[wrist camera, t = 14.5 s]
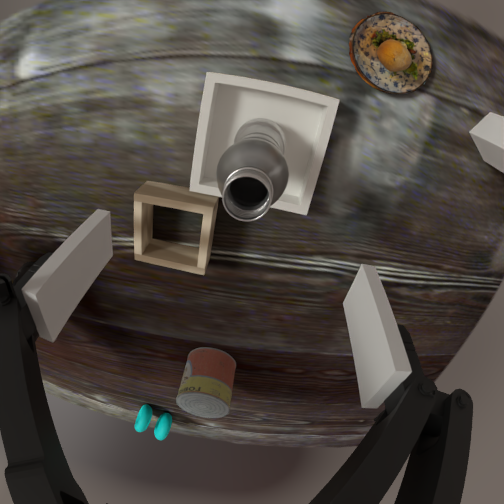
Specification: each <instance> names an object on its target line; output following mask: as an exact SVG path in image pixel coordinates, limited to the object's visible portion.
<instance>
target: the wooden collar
mask: <svg viewBox="0 0 504 504" xmlns="http://www.w3.org/2000/svg"><path fill="white" fill-rule="evenodd" d="M189 190H190V188H188V187H182V186H176V185H171V184H165V183H159V182H153V181H146V182H145V183H144V184H143V185H142V186H141V187H140V188H139V189H138V190H137V191H136V192H135V193H134V250H135V260H139V261H143V262H148V263H152V264H156V265H161V266H165V267H170V268H174V269H179V270H183V271H188V272H192V273H197V274H201V275H204V274H205V271H206V268H207V265H208V262H209V259H210V256H211V249H212V242H213V235H214V228H215V222H216V215H217V209H218V202H219V197H218V196H213V195H208V194H203V193H198V192H192V191H189ZM153 204H154V205H159V206H164V207H170V208H175V209H180V210H185V211H190V212H196V213H201V214H203V222H202V230H201V238H200V246H199V248H195V247H191V246H186V245H181V244H176V243H172V242H167V241H162V240H158V239H153V238H152V234H153Z"/></svg>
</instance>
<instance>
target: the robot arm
mask: <svg viewBox="0 0 504 504" xmlns="http://www.w3.org/2000/svg"><path fill="white" fill-rule="evenodd" d="M112 256H113V252H112V238H111V221H110V211H104V210H99V209H98V210H97V211H95V212H94V213H93V214H92V215H91V216H90V217H89V218H88V219H87V220H86V221H85V222H84V223H83V224H82V225H81V226H80V227H79V228H78V229H77V230H76V231H75V232H74V233H73V234H72V235H71V236H70V237H69V238H68V239H67V240H66V241H65V242H64V243H63V244H62V245H61V246H60V247H59V248H58V249H57V250H56V251H55V252H54V253H50V252H48V253H47V254H45V255H43V256H42V257H40V258H39V259H38V260H37V261H36V262H27V263H25V264H24V265H23V266H22V267H21V268H20V269H19V271H18V272H17V275H16V278H15V280H14V282H13V284H12V281H11V278H10V277H9V276H8V275H7V274H0V430H1V435H2V440H3V444H4V448H5V452H6V456H7V460H8V467H7V468H6V469H5V478H6V482H7V485H8V488H9V491H10V494H11V497H12V500H13V502H14V504H89V503H88V501H87V499H86V497H85V495H84V493H83V492H82V490H81V488H80V487H79V485H78V484H77V483H76V481H75V479H74V478H73V476H72V473H71V471H70V469H69V466H68V463H67V461H66V458H65V456H64V453H63V450H62V447H61V445H60V442H59V439H58V436H57V433H56V430H55V427H54V423H53V420H52V417H51V413H50V410H49V406H48V402H47V398H46V395H45V390H44V386H43V382H42V377H41V373H40V368H39V363H38V357H37V352H36V346H35V341H36V340H37V338H38V337H39V335H40V337H41V338H44V339H46V340H48V341H51V342H54V341H55V339H56V337H57V336H58V334H59V333H60V331H61V329H62V328H63V326H64V325H65V323H66V322H67V320H68V318H69V317H70V315H71V314H72V312H73V311H74V309H75V308H76V306H77V305H78V303H79V302H80V300H81V299H82V297H83V296H84V295H85V293H86V292H87V290H88V289H89V287H90V286H91V284H92V283H93V282H94V280H95V279H96V277H97V276H98V275H99V273H100V272H101V271H102V269H103V268H104V266H105V265H106V264H107V262H108V261H109V260H110V258H111V257H112ZM343 306H344V310H345V315H346V320H347V325H348V330H349V335H350V340H351V345H352V351H353V356H354V362H355V368H356V374H357V380H358V386H359V392H360V399H361V406H362V408H378V407H379V406H380V405H381V404H382V403H383V402H385V407H386V409H385V410H384V411H383V412H382V413H380V414H379V415H378V416H377V417H376V418H375V419H374V421H376V422H375V423H374V425H373V426H372V427H371V429H370V430H369V432H368V433H367V434H366V436H365V437H364V439H363V440H362V441H361V443H360V444H359V445H358V447H357V448H356V449H355V451H354V452H353V453H352V454H351V456H350V457H349V458H348V460H347V461H346V462H345V463H344V465H343V466H342V467H341V468H340V469H339V471H338V472H337V473H336V474H335V475H334V476H333V478H332V479H331V480H330V481H329V482H328V483H327V484H326V486H325V487H324V488H323V489H322V490H321V491H320V492H319V493H318V494H317V495H316V497H315V498H314V499H313V500H312V501H311V502H310V503H309V504H379V503H380V501H381V500H382V498H383V497H384V495H385V494H386V492H387V491H388V489H389V488H390V486H391V485H392V483H393V481H394V480H395V478H396V477H397V475H398V473H399V472H400V470H401V468H402V467H403V465H404V463H405V461H406V460H407V458H408V456H409V454H410V457H409V460H408V464H407V467H406V471H405V474H404V477H403V480H402V483H401V486H400V489H399V492H398V495H397V498H396V501H395V503H394V504H460V502H461V498H462V493H463V488H464V483H465V477H466V471H467V465H468V457H469V450H470V441H471V430H472V416H473V402H472V400H471V397H470V395H469V394H468V393H467V392H466V391H464V390H462V389H456V390H455V391H454V392H453V393H452V394H450V395H449V394H446V393H443V392H440V391H438V390H437V387H436V385H435V384H434V382H433V381H432V380H431V379H429V378H427V377H424V374H423V371H422V368H421V365H420V362H419V359H418V356H417V353H416V352H415V347H414V345H413V341H412V339H411V336H410V333H409V332H408V331H407V329H406V328H405V327H404V326H403V325H397V324H396V321H395V318H394V315H393V312H392V310H391V307H390V304H389V301H388V299H387V296H386V293H385V291H384V288H383V286H382V283H381V281H380V278H379V276H378V273H377V271H376V268H375V267H374V266H370V265H365V264H362V265H361V267H360V269H359V271H358V273H357V276H356V278H355V280H354V282H353V284H352V286H351V288H350V290H349V292H348V294H347V296H346V298H345V300H344V302H343Z"/></svg>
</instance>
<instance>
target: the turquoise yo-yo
mask: <svg viewBox="0 0 504 504" xmlns="http://www.w3.org/2000/svg"><path fill="white" fill-rule="evenodd" d="M151 417H152V408H151V406H150V405H148V404H145V405H143V406H142V407H141V409H140V411H139V414H138V416H137V419H136V422H135V429H136V431H138V432H143V431H145V430H146V429H147V427H148V425H149V423H150V421H151ZM171 424H172V416H171V415H170V414H169V413H163V414H162V415H161V416H160V417H159V418H158V420H157V423H156V426H155V430H154V434H155V437H156V438H157V439H158V440H164V439H165V438H166V437H167V435H168V433H169V431H170V428H171Z"/></svg>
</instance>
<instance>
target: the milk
mask: <svg viewBox="0 0 504 504" xmlns="http://www.w3.org/2000/svg"><path fill="white" fill-rule="evenodd" d="M469 133H470V135H471V137H472V139H473V141H474V143H475V144H476V146H477V148H478V150H479V152H480V154H481V156H482V158H483V160H484V161H485V162H487V163H488V164H490V165H492V166H493V167H495V168H496V169H498V170H499V171H501V172H503V173H504V117H503V116H500V115H497V114H494V113H491V112H490V113H489V114H488V115H486V116H485V117H484V118H483V119H482V120H481V121H480V122H479V123H478V124H477V125H476V126H475V127H474V128H473V129H472V130H471V131H469Z"/></svg>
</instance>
